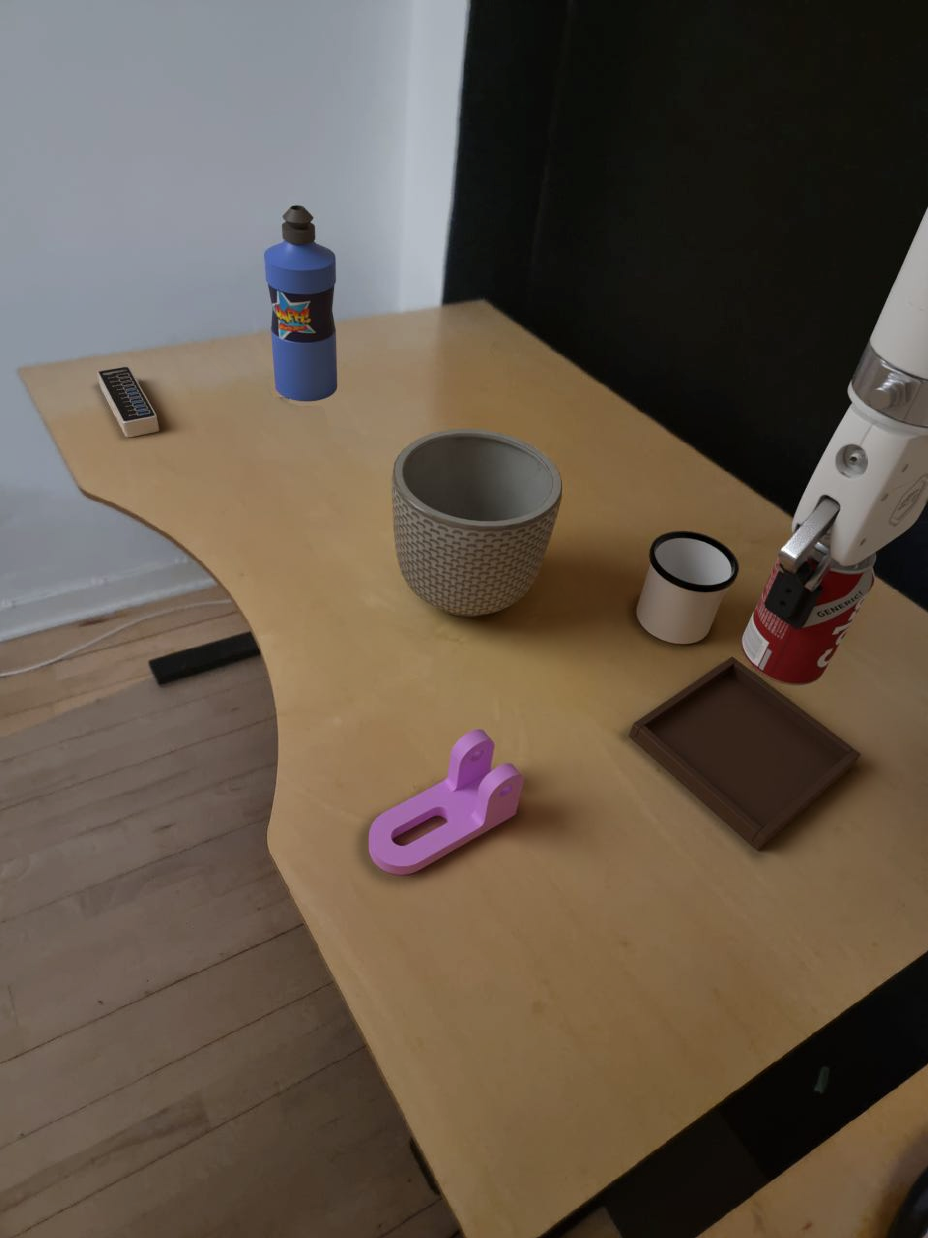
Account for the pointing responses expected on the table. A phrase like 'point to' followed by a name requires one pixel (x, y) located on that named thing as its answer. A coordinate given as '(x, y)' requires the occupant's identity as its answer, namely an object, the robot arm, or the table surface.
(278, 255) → the water bottle
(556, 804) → the table surface
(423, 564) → the planter
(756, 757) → the tray
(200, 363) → the table surface
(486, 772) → the bracket
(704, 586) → the mug
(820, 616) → the soda can
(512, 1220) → the table surface
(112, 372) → the multiport hub
